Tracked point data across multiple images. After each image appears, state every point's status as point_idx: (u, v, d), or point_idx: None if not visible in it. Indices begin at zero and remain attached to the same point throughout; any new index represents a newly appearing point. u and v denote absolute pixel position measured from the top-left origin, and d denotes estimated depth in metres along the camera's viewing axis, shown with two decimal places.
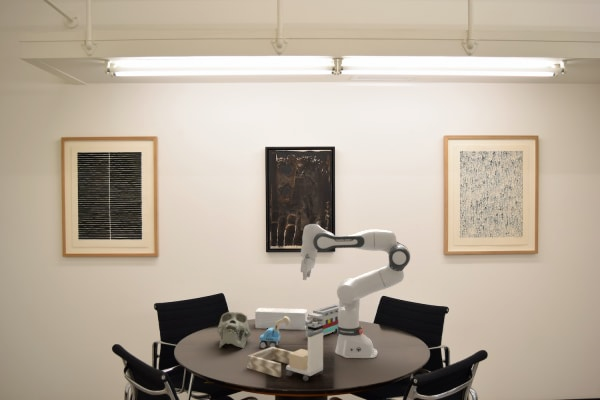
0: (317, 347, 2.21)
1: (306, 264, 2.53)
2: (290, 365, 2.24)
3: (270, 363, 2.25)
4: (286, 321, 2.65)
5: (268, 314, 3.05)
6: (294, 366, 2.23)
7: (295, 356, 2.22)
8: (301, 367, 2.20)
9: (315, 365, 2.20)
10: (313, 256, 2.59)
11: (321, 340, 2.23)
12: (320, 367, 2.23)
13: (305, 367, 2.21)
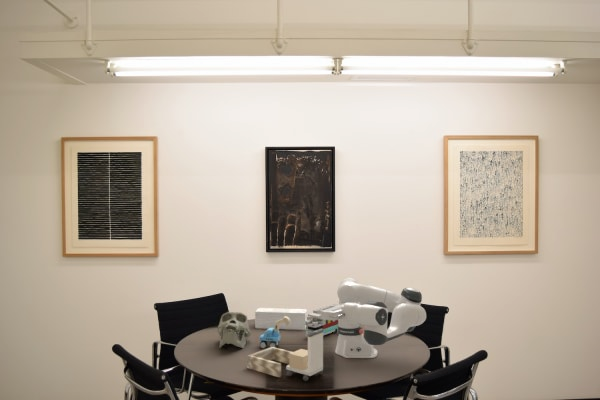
0: (317, 347, 2.21)
1: (329, 318, 2.05)
2: (290, 365, 2.24)
3: (270, 363, 2.25)
4: (286, 321, 2.65)
5: (268, 314, 3.05)
6: (294, 366, 2.23)
7: (295, 356, 2.22)
8: (301, 367, 2.20)
9: (315, 365, 2.20)
10: (345, 321, 2.08)
11: (321, 340, 2.23)
12: (320, 367, 2.23)
13: (305, 367, 2.21)
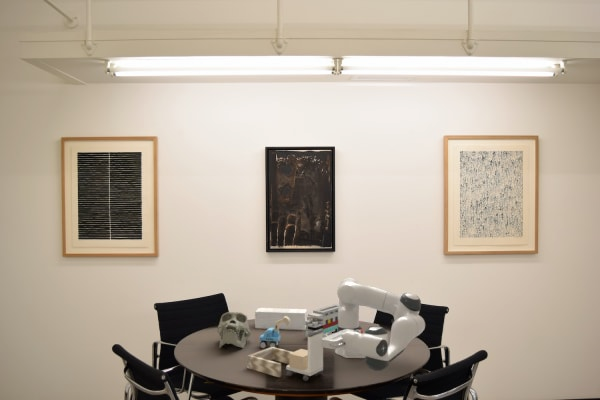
0: (317, 347, 2.21)
1: (329, 347, 2.04)
2: (290, 365, 2.24)
3: (270, 363, 2.25)
4: (286, 321, 2.65)
5: (268, 314, 3.05)
6: (294, 366, 2.23)
7: (295, 356, 2.22)
8: (301, 367, 2.20)
9: (315, 365, 2.20)
10: (344, 349, 2.07)
11: None
12: (320, 367, 2.23)
13: (305, 367, 2.21)
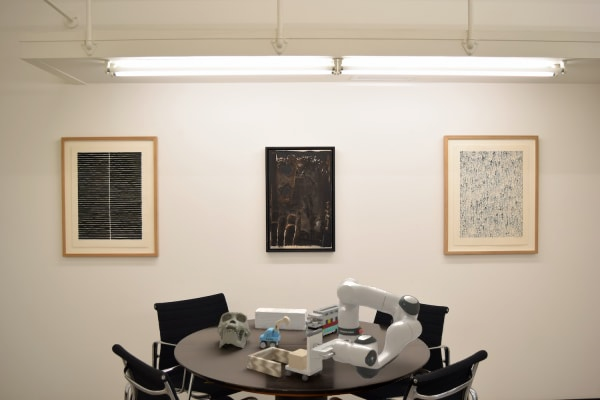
0: None
1: (319, 357, 2.07)
2: (289, 365, 2.24)
3: (270, 363, 2.25)
4: (286, 321, 2.65)
5: (268, 314, 3.05)
6: (293, 366, 2.23)
7: (294, 356, 2.22)
8: (301, 367, 2.20)
9: (314, 365, 2.20)
10: (335, 359, 2.10)
11: (320, 340, 2.23)
12: (320, 367, 2.23)
13: (304, 367, 2.21)
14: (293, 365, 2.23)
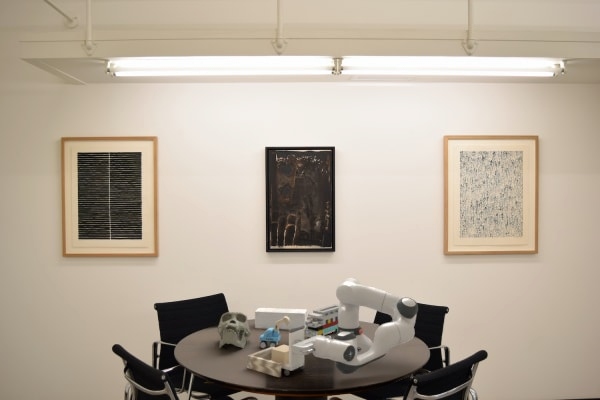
0: None
1: (299, 353, 2.13)
2: (272, 360, 2.31)
3: (270, 363, 2.25)
4: (286, 321, 2.65)
5: (268, 314, 3.05)
6: (276, 361, 2.29)
7: (277, 351, 2.29)
8: (283, 362, 2.27)
9: (296, 360, 2.26)
10: (315, 355, 2.16)
11: (302, 336, 2.30)
12: (302, 362, 2.30)
13: (287, 362, 2.28)
14: (276, 360, 2.29)
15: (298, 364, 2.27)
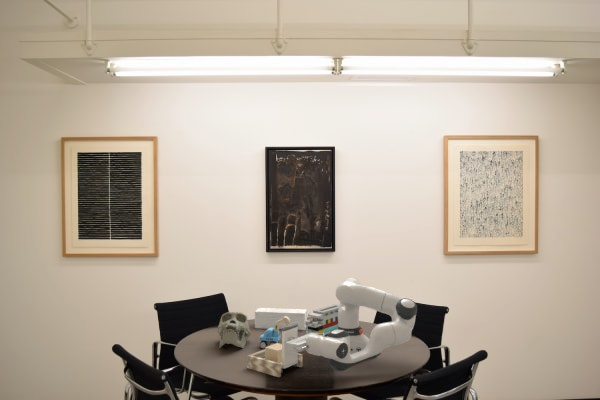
0: None
1: (293, 350, 2.16)
2: (266, 358, 2.33)
3: (270, 363, 2.25)
4: (286, 321, 2.65)
5: (268, 314, 3.05)
6: (269, 359, 2.32)
7: (270, 350, 2.31)
8: (276, 360, 2.29)
9: (289, 358, 2.29)
10: (308, 352, 2.19)
11: (295, 334, 2.32)
12: (295, 360, 2.32)
13: (280, 360, 2.30)
14: (269, 359, 2.32)
15: (291, 362, 2.30)
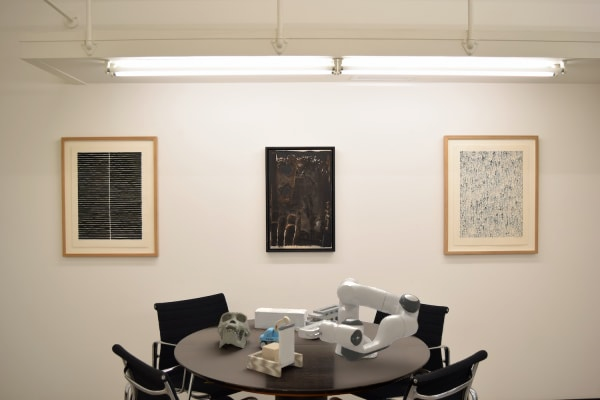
0: (288, 340, 2.31)
1: (306, 337, 2.11)
2: (263, 358, 2.34)
3: (270, 363, 2.25)
4: (286, 321, 2.65)
5: (267, 314, 3.05)
6: (266, 358, 2.33)
7: (267, 349, 2.32)
8: (273, 359, 2.30)
9: (286, 357, 2.30)
10: (321, 339, 2.14)
11: (292, 334, 2.34)
12: (292, 359, 2.33)
13: (277, 359, 2.31)
14: (266, 358, 2.33)
15: (288, 361, 2.31)
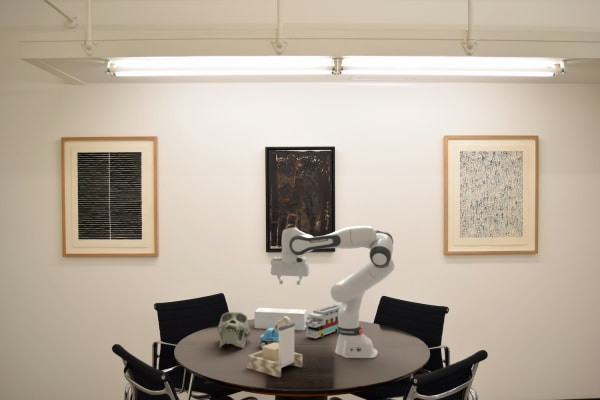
0: (288, 340, 2.31)
1: None
2: (263, 358, 2.34)
3: (270, 363, 2.25)
4: (286, 321, 2.65)
5: (267, 314, 3.05)
6: (266, 358, 2.33)
7: (267, 349, 2.32)
8: (273, 359, 2.30)
9: (286, 357, 2.30)
10: (282, 260, 2.52)
11: (292, 334, 2.34)
12: (292, 359, 2.33)
13: (277, 359, 2.31)
14: (266, 358, 2.33)
15: (288, 361, 2.31)
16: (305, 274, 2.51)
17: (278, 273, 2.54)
